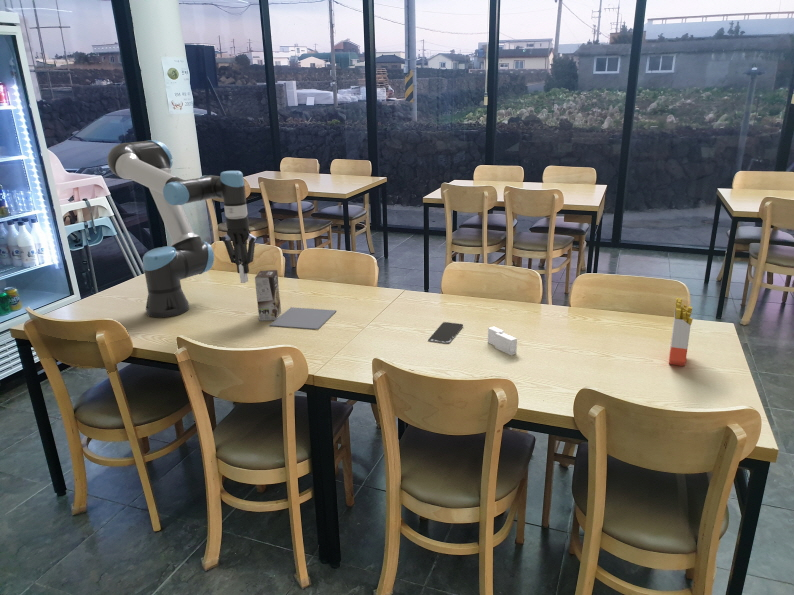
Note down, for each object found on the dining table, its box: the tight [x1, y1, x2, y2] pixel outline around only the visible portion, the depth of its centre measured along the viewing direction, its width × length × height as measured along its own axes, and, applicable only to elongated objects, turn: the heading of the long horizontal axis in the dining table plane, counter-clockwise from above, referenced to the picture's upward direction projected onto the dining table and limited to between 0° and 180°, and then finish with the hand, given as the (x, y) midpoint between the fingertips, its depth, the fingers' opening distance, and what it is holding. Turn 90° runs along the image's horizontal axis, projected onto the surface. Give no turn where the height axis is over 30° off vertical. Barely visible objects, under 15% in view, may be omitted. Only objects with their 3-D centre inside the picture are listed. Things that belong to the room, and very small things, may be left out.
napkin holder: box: [487, 325, 518, 356], centre depth 188 cm, size 15×11×6 cm
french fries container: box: [668, 297, 694, 367], centre depth 173 cm, size 5×11×18 cm, turn 156°
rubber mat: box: [269, 306, 337, 330], centre depth 217 cm, size 18×18×1 cm
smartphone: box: [427, 321, 464, 345], centre depth 200 cm, size 7×1×16 cm
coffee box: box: [254, 269, 282, 321], centre depth 218 cm, size 9×6×16 cm
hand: (244, 281), depth 218 cm, fingers closed
